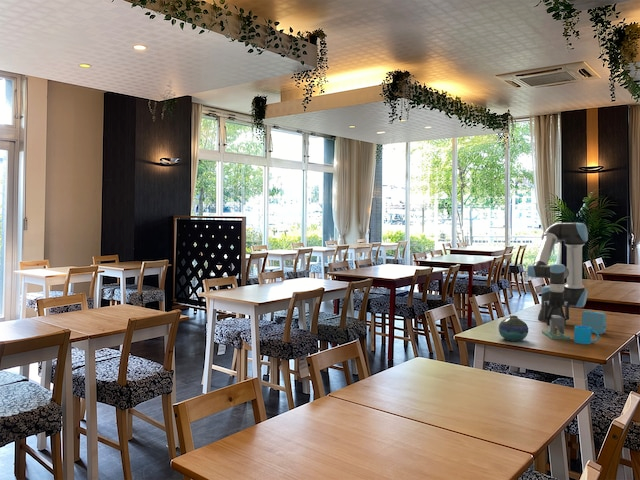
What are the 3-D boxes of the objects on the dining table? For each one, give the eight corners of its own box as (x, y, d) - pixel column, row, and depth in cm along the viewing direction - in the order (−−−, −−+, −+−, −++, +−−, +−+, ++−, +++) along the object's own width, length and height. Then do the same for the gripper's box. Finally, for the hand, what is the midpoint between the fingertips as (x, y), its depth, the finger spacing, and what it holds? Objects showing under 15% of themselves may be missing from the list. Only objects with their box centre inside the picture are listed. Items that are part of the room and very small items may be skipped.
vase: (525, 344, 262) (526, 319, 262) (495, 340, 270) (495, 316, 270) (530, 339, 275) (530, 315, 275) (501, 335, 283) (502, 312, 283)
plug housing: (547, 330, 288) (547, 314, 287) (558, 330, 287) (558, 315, 287) (553, 333, 279) (553, 317, 278) (564, 334, 278) (564, 318, 278)
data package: (605, 333, 290) (606, 313, 290) (603, 334, 287) (603, 314, 287) (584, 330, 299) (584, 310, 299) (581, 331, 296) (581, 311, 296)
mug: (572, 342, 269) (573, 327, 268) (575, 339, 275) (576, 324, 275) (597, 345, 261) (598, 330, 261) (600, 343, 268) (600, 328, 267)
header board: (541, 332, 291) (541, 325, 291) (559, 333, 290) (559, 325, 290) (551, 339, 276) (551, 331, 275) (570, 339, 274) (570, 332, 274)
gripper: (541, 291, 279) (540, 332, 280) (577, 292, 277) (575, 333, 278) (537, 289, 287) (536, 329, 288) (571, 290, 285) (570, 330, 286)
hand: (555, 331), depth 283 cm, fingers closed on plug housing, 6 cm apart
